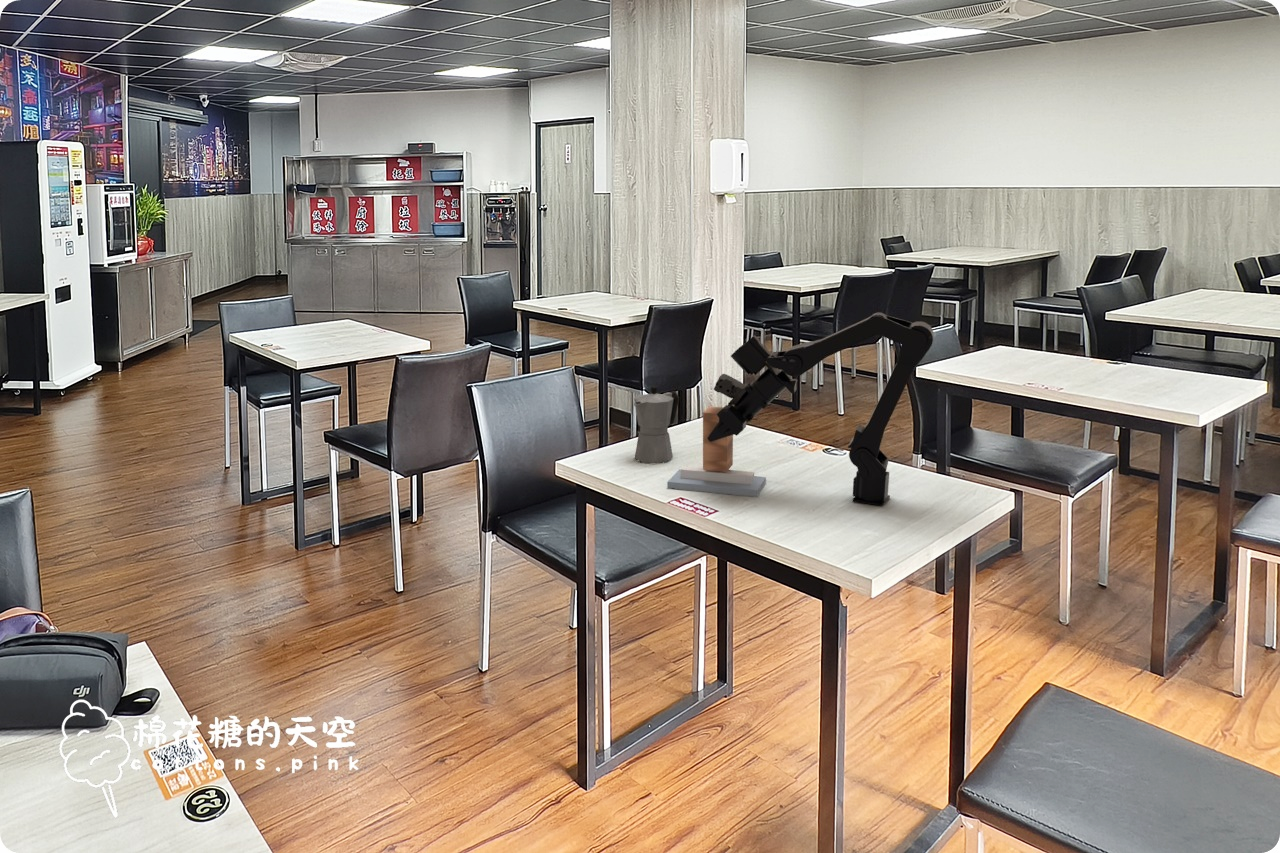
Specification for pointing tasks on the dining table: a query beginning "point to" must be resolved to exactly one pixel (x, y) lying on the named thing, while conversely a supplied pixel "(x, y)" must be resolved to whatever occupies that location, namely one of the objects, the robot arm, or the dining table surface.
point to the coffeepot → (655, 425)
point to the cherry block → (715, 444)
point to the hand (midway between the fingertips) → (711, 436)
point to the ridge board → (717, 481)
